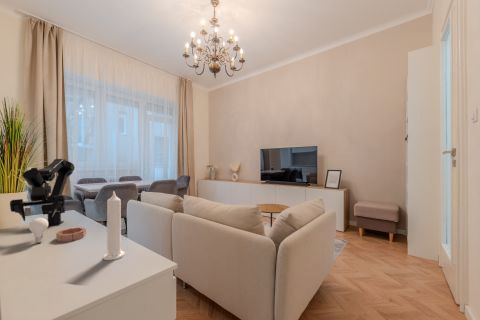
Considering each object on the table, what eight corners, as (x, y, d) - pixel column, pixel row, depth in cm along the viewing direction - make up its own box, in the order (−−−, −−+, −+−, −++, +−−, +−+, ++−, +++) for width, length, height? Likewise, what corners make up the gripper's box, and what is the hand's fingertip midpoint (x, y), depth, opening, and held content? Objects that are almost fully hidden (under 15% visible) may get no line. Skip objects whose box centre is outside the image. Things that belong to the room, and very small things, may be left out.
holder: (63, 235, 107) (63, 228, 107) (88, 232, 110) (88, 226, 110) (52, 243, 97) (52, 236, 97) (80, 240, 100) (80, 233, 100)
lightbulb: (52, 240, 100) (52, 216, 100) (38, 246, 94) (38, 220, 94) (39, 239, 101) (39, 215, 101) (24, 245, 94) (24, 219, 94)
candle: (115, 261, 81) (115, 193, 80) (98, 259, 82) (98, 192, 81) (128, 253, 87) (128, 190, 87) (113, 251, 89) (113, 189, 88)
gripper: (10, 181, 97) (6, 211, 89) (64, 179, 109) (65, 205, 101) (12, 197, 103) (9, 226, 95) (63, 193, 115) (64, 218, 107)
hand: (38, 218), depth 99 cm, fingers open, 9 cm apart
